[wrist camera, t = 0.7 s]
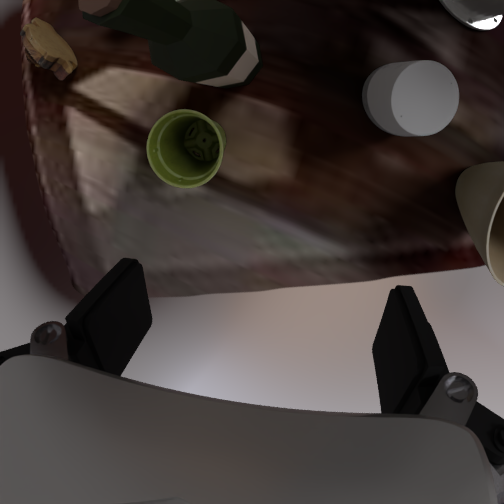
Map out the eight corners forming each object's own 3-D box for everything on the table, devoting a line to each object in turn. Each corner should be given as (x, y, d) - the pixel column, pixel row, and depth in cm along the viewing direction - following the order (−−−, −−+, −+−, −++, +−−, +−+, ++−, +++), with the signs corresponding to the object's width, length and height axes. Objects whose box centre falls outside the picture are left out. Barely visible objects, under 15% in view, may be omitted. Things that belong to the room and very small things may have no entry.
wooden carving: (38, 38, 35) (0, 36, 26) (52, 18, 33) (13, 13, 24) (80, 85, 39) (39, 87, 30) (96, 63, 37) (55, 60, 28)
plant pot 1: (216, 185, 44) (197, 203, 36) (163, 151, 43) (134, 163, 35) (251, 130, 40) (238, 135, 32) (193, 96, 38) (168, 95, 31)
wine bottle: (255, 94, 37) (152, 72, 11) (196, 83, 37) (25, 73, 11) (270, 38, 33) (201, -83, 7) (209, 29, 34) (63, -57, 7)
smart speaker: (383, 145, 37) (419, 165, 25) (343, 89, 35) (364, 81, 23) (434, 111, 34) (486, 118, 21) (396, 55, 31) (437, 36, 19)
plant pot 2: (421, 223, 41) (466, 279, 27) (447, 128, 34) (511, 146, 20) (491, 244, 40) (541, 296, 26) (517, 161, 33) (581, 191, 19)
